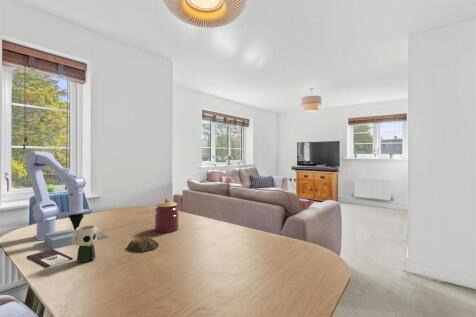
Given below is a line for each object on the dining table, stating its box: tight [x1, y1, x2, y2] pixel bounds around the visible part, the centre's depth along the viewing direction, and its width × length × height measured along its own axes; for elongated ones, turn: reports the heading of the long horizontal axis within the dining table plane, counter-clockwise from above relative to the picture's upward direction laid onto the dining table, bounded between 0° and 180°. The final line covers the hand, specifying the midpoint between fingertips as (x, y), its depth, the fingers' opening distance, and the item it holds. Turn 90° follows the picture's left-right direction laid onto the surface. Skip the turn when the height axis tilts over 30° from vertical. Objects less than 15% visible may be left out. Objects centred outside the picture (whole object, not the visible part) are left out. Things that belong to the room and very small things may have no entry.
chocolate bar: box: [26, 248, 74, 269], centre depth 101 cm, size 9×1×18 cm
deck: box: [44, 228, 76, 250], centre depth 119 cm, size 14×11×4 cm
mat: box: [96, 231, 110, 241], centre depth 128 cm, size 16×12×1 cm
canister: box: [154, 197, 180, 233], centre depth 141 cm, size 13×13×18 cm
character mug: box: [72, 224, 100, 263], centre depth 99 cm, size 11×7×13 cm, turn 153°
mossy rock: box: [127, 236, 159, 253], centre depth 113 cm, size 13×12×5 cm
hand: (76, 229), depth 123 cm, fingers closed
